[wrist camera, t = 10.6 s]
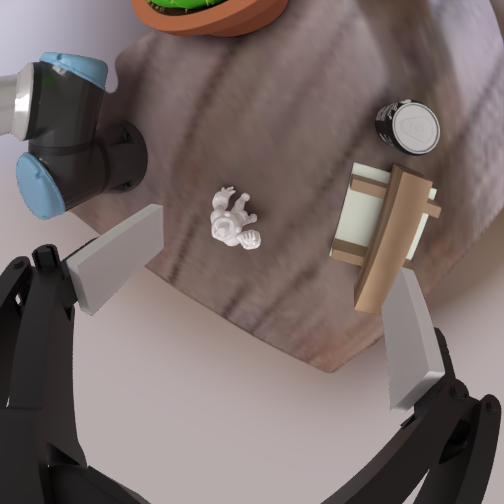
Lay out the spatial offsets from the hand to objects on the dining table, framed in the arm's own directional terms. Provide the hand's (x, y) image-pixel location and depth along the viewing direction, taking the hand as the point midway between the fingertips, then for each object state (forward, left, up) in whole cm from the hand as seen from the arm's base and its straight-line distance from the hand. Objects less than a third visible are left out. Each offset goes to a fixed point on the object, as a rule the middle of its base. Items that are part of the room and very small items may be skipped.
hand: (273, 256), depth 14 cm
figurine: (-10, -9, -30) cm, 33 cm away
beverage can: (+10, +9, -30) cm, 33 cm away
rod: (+12, -6, -25) cm, 29 cm away
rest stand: (+12, -6, -30) cm, 33 cm away
